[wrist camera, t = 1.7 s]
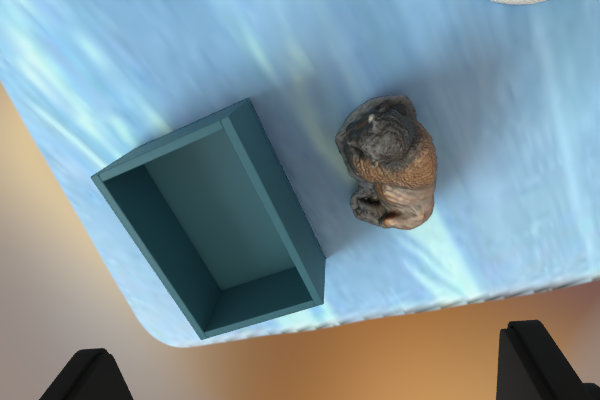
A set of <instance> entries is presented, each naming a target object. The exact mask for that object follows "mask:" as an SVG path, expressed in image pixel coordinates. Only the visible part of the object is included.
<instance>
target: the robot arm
mask: <svg viewBox="0 0 600 400" xmlns="http://www.w3.org/2000/svg"><path fill="white" fill-rule="evenodd" d="M490 1H493V2H497V3H500V4H511V5H523V4H534V3H538V2H543V1H547V0H490ZM497 375H498V376H497V394H496V400H600V387H599V386H597V385H596V384H594V383H582V381H581V380H580V379H579V377H578V376H577V374H576V373H575V371H574V370H573V368H572V367H571V365H570V364H569V362H568V361H567V359H566V358H565V356H564V355H563V353H562V352H561V350H560V349H559V348H558V346H557V345H556V343H555V342H554V340H553V339H552V337H551V336H550V334H549V333H548V331H547V330H546V328H545V327H544V325H543V324H542V323H541V322H540V321H538V320H527V321H511V322H509V324H508V328H507V329H501V330H500V340H499V357H498V374H497ZM39 400H133V398H132V396H131V393H130V391H129V389H128V387H127V385H126V383H125V381H124V378H123V376H122V374H121V372H120V370H119V368H118V366H117V363H116V361H115V359H114V357H113V356H112V355H111V354H109V353H108V352H107V350H105V349H104V348H98V349H83V350H79V351H78V352H77V353H75V354H74V356H73V357H72V358H71V359H70V361H69V362H68V363H67V364H66V366H65V367H64V368H63V370H62V371H61V372H60V373H59V375H58V376H57V377H56V379H55V380H54V381H53V382H52V384H51V385H50V386H49V388H48V389H47V390H46V392H45V393H44V394H43V395H42V397H41V398H40V399H39Z"/></svg>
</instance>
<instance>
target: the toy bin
mask: <svg viewBox="0 0 600 400" xmlns="http://www.w3.org/2000/svg"><path fill="white" fill-rule="evenodd" d="M91 179H92V180H93V182H94V183H95V185H96V186H97V188H98V189H99V191H100V192H101V194H102V195H103V196H104V198H105V199H106V201H107V202H108V204H109V205H110V207H111V208H112V210H113V211H114V213H115V214H116V216H117V217H118V219H119V220H120V221H121V223H122V224H123V226H124V227H125V229H126V230H127V232H128V233H129V235H130V236H131V238H132V239H133V241H134V242H135V244H136V245H137V246H138V248H139V249H140V251H141V252H142V254H143V255H144V257H145V258H146V260H147V261H148V263H149V264H150V266H151V267H152V268H153V270H154V271H155V273H156V274H157V276H158V277H159V279H160V280H161V282H162V283H163V285H164V286H165V288H166V289H167V291H168V292H169V293H170V295H171V296H172V298H173V299H174V301H175V302H176V304H177V305H178V307H179V308H180V310H181V311H182V313H183V314H184V315H185V317H186V318H187V320H188V321H189V323H190V324H191V326H192V327H193V329H194V330H195V332H196V333H197V335H198V336H199V338H200V339H201V340H203V339H206V338H210V337H213V336H216V335H220V334H223V333H227V332H230V331H233V330H237V329H240V328H244V327H247V326H250V325H254V324H257V323H261V322H264V321H267V320H271V319H274V318H278V317H281V316H284V315H288V314H291V313H295V312H298V311H301V310H305V309H308V308H311V307H315V306H318V305H322V304H324V282H325V261H326V258H325V256H324V254H323V252H322V250H321V248H320V246H319V244H318V242H317V240H316V238H315V235H314V233H313V231H312V229H311V227H310V225H309V223H308V221H307V219H306V217H305V215H304V212H303V210H302V208H301V206H300V204H299V202H298V200H297V198H296V196H295V194H294V192H293V189H292V187H291V185H290V183H289V181H288V179H287V177H286V175H285V173H284V171H283V169H282V166H281V164H280V162H279V160H278V158H277V156H276V154H275V152H274V150H273V148H272V146H271V144H270V141H269V139H268V137H267V135H266V133H265V131H264V129H263V127H262V125H261V123H260V121H259V118H258V116H257V114H256V112H255V110H254V108H253V106H252V104H251V102H250V100H249V98H247V99H244V100H242V101H240V102H238V103H236V104H233V105H231V106H229V107H227V108H224V109H222V110H220V111H218V112H216V113H213V114H211V115H209V116H207V117H204V118H202V119H200V120H198V121H196V122H193V123H191V124H189V125H187V126H184V127H182V128H180V129H178V130H176V131H173V132H171V133H169V134H167V135H164V136H162V137H160V138H158V139H156V140H153V141H151V142H149V143H147V144H144V145H142V146H140V147H138V148H136V149H133V150H132V151H130V152H129V153H127V154H125V155H124V156H122V157H121V158H119V159H118V160H116V161H115V162H113V163H111V164H110V165H108V166H107V167H105V168H104V169H102V170H101V171H99V172H98V173H96V174H94V175H93V176H91Z"/></svg>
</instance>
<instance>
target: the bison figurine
mask: <svg viewBox="0 0 600 400" xmlns="http://www.w3.org/2000/svg"><path fill="white" fill-rule="evenodd" d="M335 141H336V144H337V147H338V149H339V152H340V154H341V155H342V157H343V159H344V162H345V164H346V166H347V169H348V172H349V174H350V175H351V176H352V177H354V178H355V179H357V180H358V182H359V189H358V191H357V192H356V193H355V194H353V196H352V197H351V201H350V206H351V208H352V210H353V213H354V215H355V217H356V218H358V219H360V220H362V221H365V222H368V223H370V224H373V225H377V226H380V227H382V228H398V229H404V230H410V229H413V228H416V227H418V226H420V225H421V224H423V223H424V222H425V221H427V220H428V218H429V217H430V216H431V214H432V212H433V207H434V195H433V193H434V190H435V185H436V171H437V157H436V154H435V146H434V144H433V142H432V138H431V136H430V135H429V133H428V132H427V131H426V130H425V128H424V127H423V126H422V125H421V124H420V123H419V122H418V121H417V119H416V111H415V108H414V106H413V104H412V103H411V101H410V100H409V98H408V97H407V96H404V95H392V96H385V97H376V98H372V99H370V100H368V101H366V102H365V103H364V104H362V105H361V106H359V107H358V108H357V109H356V110H354V111H353V112H352V113H351V114H350V115H349V116H348V118H347V119H346V120H345V122H344V124H343V125H342V127H341V128H340V130H339V131H338V133H337V135H336V138H335Z"/></svg>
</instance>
